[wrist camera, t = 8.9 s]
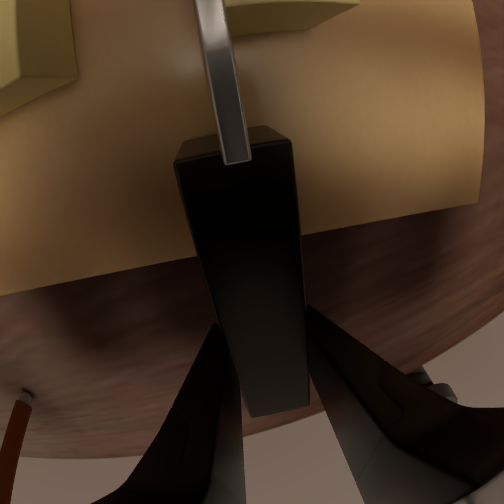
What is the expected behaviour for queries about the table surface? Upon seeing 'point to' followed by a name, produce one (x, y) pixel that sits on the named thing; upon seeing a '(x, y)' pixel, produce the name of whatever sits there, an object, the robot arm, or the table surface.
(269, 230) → the knife
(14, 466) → the magnifying glass
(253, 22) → the butter slice
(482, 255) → the table surface
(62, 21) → the butter block
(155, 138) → the board
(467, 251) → the table surface
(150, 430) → the table surface
